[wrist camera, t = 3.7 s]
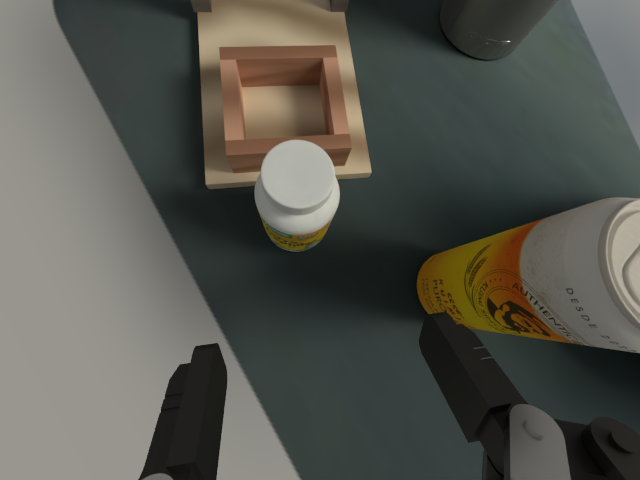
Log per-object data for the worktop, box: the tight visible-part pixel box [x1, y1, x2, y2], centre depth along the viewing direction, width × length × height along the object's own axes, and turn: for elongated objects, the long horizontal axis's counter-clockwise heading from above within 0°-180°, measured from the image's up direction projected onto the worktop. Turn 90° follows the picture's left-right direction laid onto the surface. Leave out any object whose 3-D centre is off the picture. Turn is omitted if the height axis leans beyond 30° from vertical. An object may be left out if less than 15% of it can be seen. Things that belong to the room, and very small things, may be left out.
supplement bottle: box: [254, 140, 340, 252], centre depth 20 cm, size 5×5×10 cm
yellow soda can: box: [417, 197, 640, 353], centre depth 17 cm, size 6×6×15 cm
